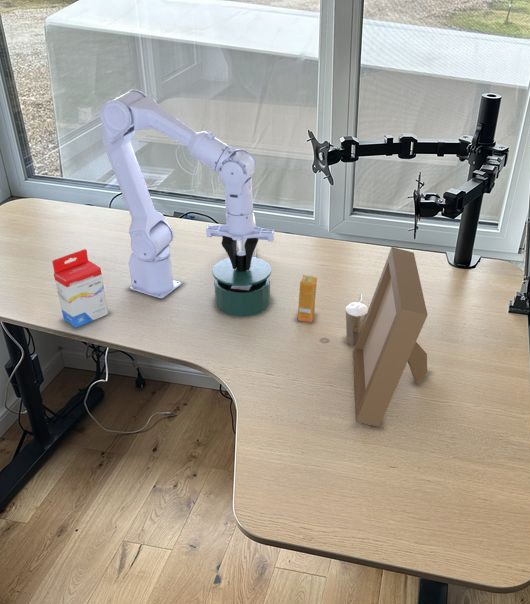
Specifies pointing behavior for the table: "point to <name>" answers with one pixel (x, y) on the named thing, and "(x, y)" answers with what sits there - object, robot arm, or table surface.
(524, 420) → the table surface
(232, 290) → the block
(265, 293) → the tin
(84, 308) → the ink box
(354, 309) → the milkshake
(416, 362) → the photo frame
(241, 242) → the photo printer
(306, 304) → the supplement box
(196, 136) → the robot arm
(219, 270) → the lid
